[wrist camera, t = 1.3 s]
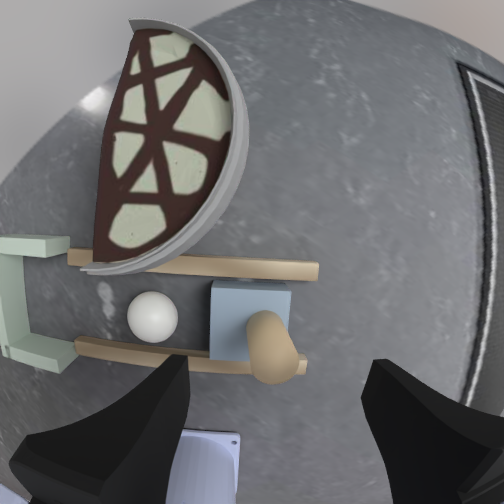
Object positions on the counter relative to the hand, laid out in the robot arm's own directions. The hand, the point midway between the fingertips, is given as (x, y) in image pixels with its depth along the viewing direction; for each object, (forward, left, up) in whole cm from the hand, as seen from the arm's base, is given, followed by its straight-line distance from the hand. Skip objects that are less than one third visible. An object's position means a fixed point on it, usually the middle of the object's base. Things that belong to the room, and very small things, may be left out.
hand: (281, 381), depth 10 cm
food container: (+9, +5, -11) cm, 15 cm away
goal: (-1, +18, -11) cm, 21 cm away
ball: (-1, +7, -9) cm, 12 cm away
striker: (-1, 0, -11) cm, 11 cm away
